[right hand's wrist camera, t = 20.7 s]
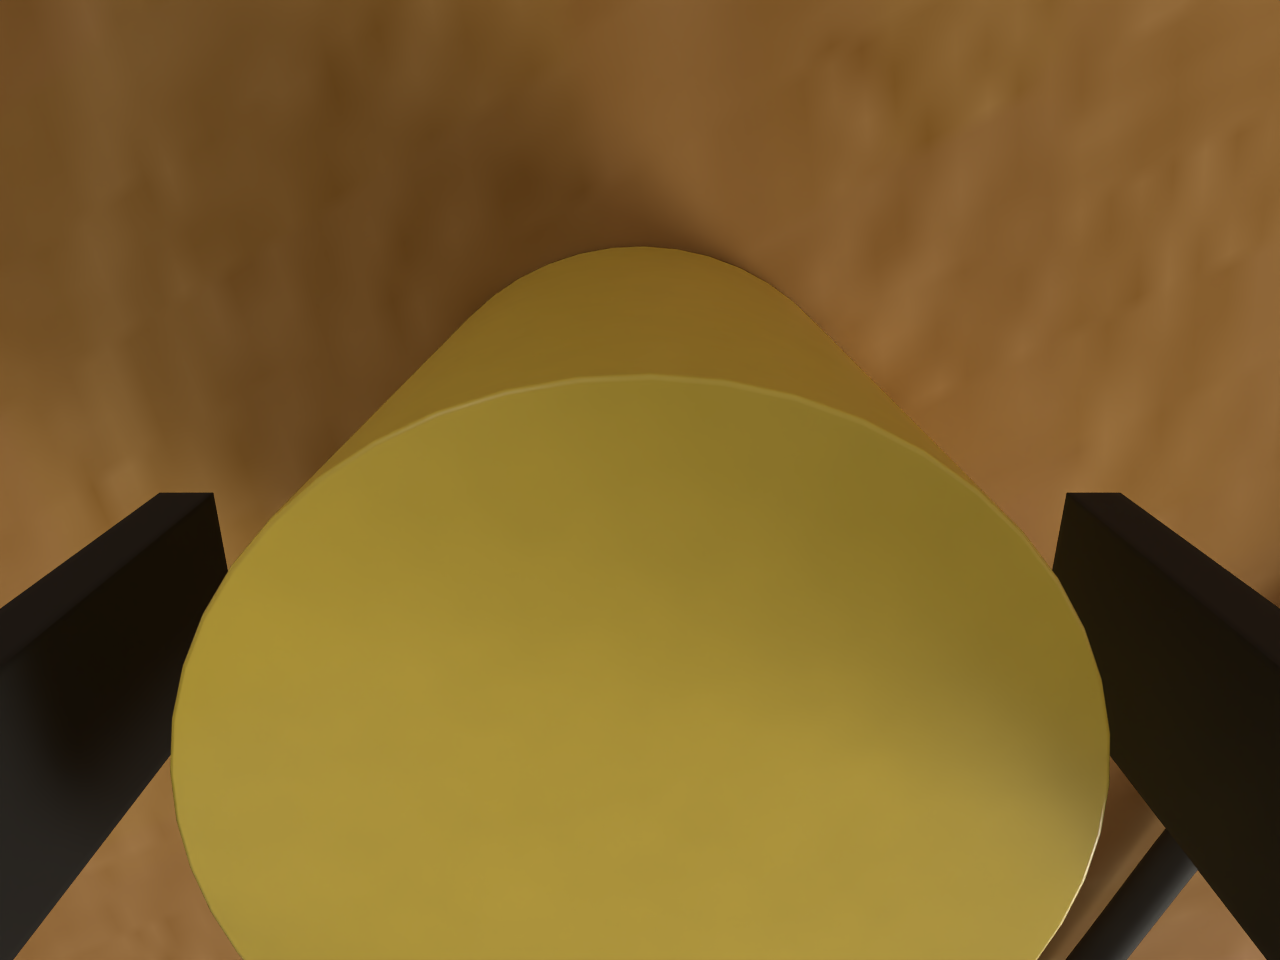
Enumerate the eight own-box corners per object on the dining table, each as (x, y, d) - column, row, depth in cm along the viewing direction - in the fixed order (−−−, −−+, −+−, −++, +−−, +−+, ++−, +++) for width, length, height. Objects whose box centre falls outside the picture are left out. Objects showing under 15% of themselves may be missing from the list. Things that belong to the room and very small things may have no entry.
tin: (826, 190, 15) (1079, 249, 6) (898, 626, 18) (1134, 1064, 9) (344, 314, 15) (-12, 516, 7) (490, 712, 18) (364, 1192, 10)
